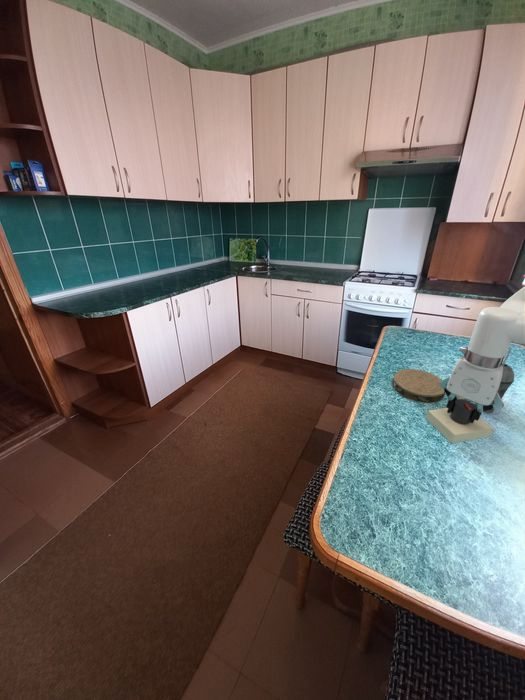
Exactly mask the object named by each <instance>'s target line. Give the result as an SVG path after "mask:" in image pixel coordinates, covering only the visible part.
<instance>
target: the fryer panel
mask: <svg viewBox="0 0 525 700" xmlns="http://www.w3.org/2000/svg"><path fill="white" fill-rule="evenodd" d="M447 411H448V408H446V407H442V408H437V409H430V410H429V409H428V410H427V412H426V413H427V414H426V417H425V419H426V421H428V422H429V423H430V425H432V426H433V427H434V428H435V429H436V430H437V432H439V433H440V434H441V435H442V436H443V437H444V438H445V439H446V440H447V441H448V442H449V443H450V444H455V443H461V442H467V441H473V440H477V439H485V438H490V437H492V434H493V432H494V429H495V427H493V426H492V425H490V424H489V423H488V422H487V421H486V420H484V419H483V418H481V417H480V418H479V420H478V421H477V420H475V421H474V422H473V423H469V424H467V425H463V424H459V423H456V422H455V421H453V420H452V419H451V418H450V414H451V413H447Z"/></svg>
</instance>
